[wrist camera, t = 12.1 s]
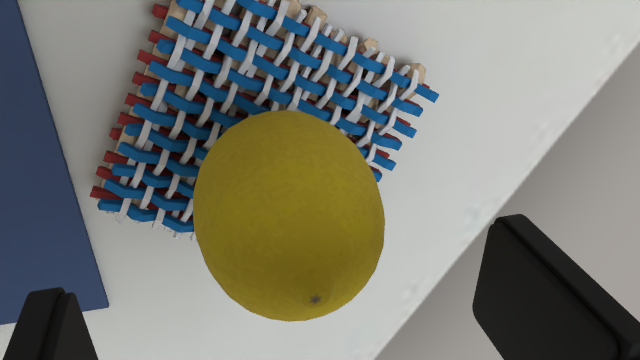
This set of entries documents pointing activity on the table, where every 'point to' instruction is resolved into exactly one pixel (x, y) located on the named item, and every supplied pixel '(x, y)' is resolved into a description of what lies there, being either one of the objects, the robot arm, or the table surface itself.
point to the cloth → (36, 188)
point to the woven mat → (243, 98)
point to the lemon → (288, 216)
